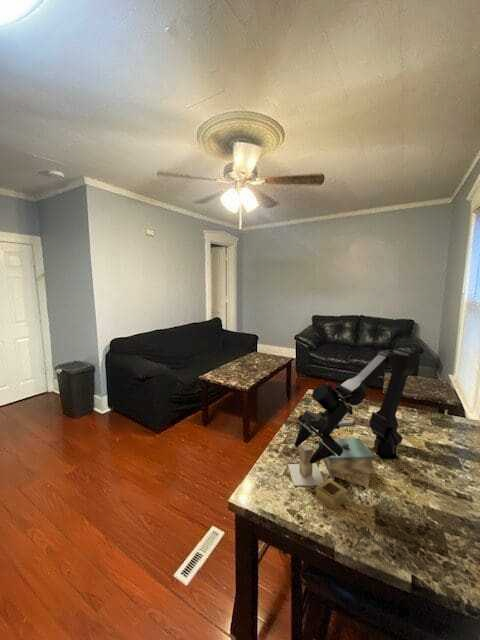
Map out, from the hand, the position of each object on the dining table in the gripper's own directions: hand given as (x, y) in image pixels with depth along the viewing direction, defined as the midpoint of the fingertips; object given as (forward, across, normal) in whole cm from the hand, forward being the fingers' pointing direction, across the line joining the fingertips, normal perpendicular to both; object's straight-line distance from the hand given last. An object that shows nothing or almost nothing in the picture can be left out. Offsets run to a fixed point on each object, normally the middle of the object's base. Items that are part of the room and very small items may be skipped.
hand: (302, 454), depth 90 cm
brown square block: (+4, 0, +6) cm, 7 cm away
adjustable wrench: (-14, -23, +26) cm, 37 cm away
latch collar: (+3, +11, +8) cm, 14 cm away
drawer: (-7, 0, +18) cm, 19 cm away
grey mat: (+4, 0, +6) cm, 8 cm away
